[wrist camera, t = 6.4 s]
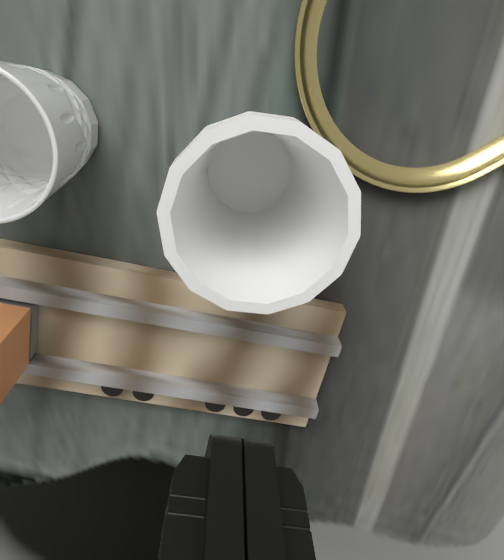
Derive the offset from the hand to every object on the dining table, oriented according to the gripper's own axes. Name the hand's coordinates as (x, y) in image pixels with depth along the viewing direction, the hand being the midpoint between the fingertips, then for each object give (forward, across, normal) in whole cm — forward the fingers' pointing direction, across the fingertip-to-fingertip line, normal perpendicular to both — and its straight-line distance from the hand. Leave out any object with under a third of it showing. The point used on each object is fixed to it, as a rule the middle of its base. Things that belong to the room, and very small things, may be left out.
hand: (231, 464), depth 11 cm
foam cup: (+25, -1, -3) cm, 25 cm away
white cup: (+25, +13, -3) cm, 28 cm away
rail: (+25, +5, +12) cm, 28 cm away
